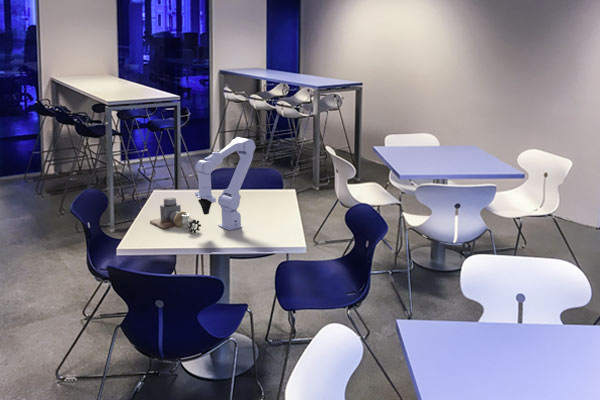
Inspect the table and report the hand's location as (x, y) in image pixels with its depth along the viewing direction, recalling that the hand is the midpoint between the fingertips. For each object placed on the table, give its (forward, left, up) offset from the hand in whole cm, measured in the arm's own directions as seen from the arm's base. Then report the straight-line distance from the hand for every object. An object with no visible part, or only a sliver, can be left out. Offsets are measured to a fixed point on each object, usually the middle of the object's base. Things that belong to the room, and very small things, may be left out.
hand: (206, 214), depth 294 cm
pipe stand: (+24, +4, -9) cm, 26 cm away
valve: (+9, +4, -10) cm, 14 cm away
